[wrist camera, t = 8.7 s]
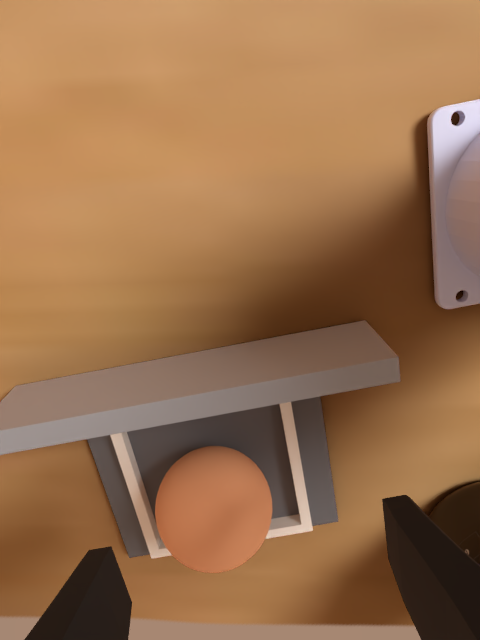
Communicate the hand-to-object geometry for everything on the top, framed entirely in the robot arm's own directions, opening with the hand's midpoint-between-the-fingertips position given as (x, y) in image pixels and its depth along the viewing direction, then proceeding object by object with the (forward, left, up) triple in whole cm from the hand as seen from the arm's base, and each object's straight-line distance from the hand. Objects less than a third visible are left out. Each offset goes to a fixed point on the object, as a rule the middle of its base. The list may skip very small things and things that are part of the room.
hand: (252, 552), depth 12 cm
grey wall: (+2, -1, -9) cm, 10 cm away
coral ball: (+2, +4, -6) cm, 8 cm away
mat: (+2, +4, -9) cm, 10 cm away
